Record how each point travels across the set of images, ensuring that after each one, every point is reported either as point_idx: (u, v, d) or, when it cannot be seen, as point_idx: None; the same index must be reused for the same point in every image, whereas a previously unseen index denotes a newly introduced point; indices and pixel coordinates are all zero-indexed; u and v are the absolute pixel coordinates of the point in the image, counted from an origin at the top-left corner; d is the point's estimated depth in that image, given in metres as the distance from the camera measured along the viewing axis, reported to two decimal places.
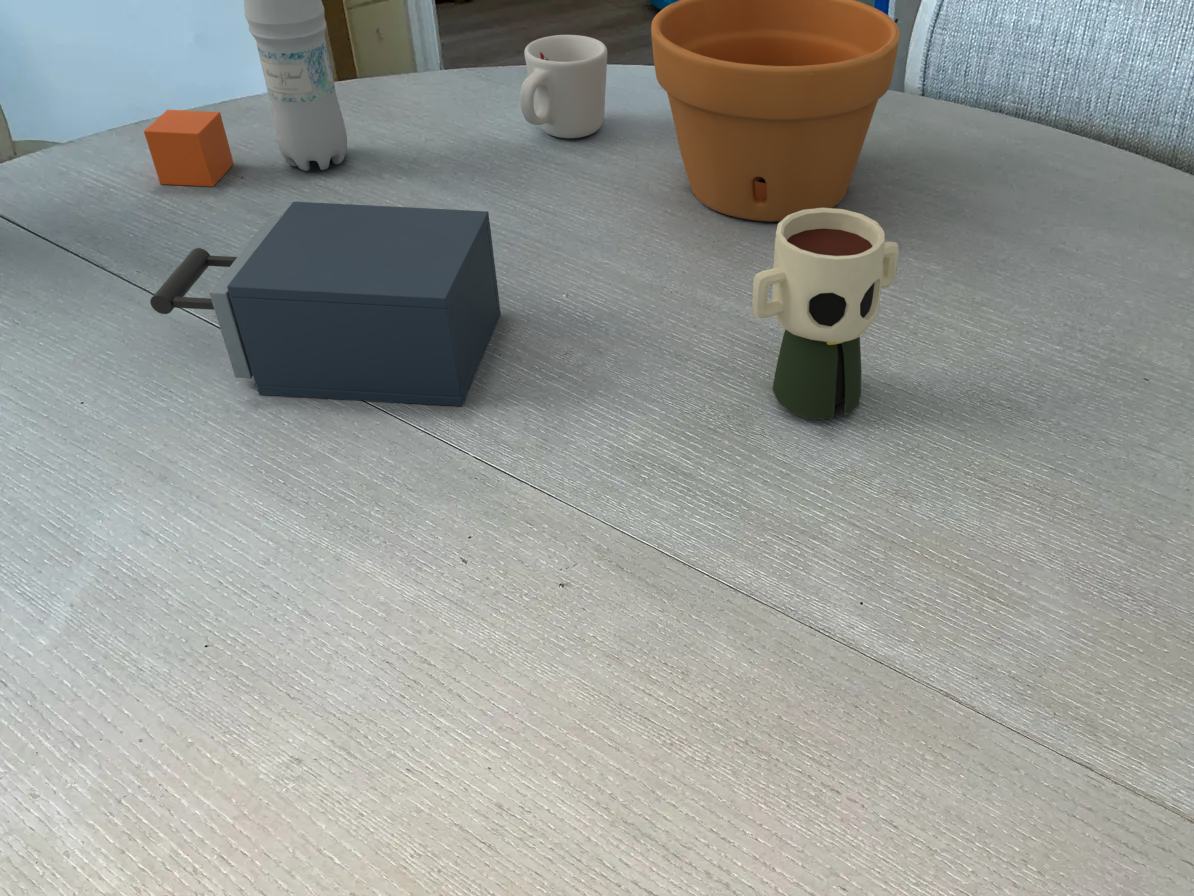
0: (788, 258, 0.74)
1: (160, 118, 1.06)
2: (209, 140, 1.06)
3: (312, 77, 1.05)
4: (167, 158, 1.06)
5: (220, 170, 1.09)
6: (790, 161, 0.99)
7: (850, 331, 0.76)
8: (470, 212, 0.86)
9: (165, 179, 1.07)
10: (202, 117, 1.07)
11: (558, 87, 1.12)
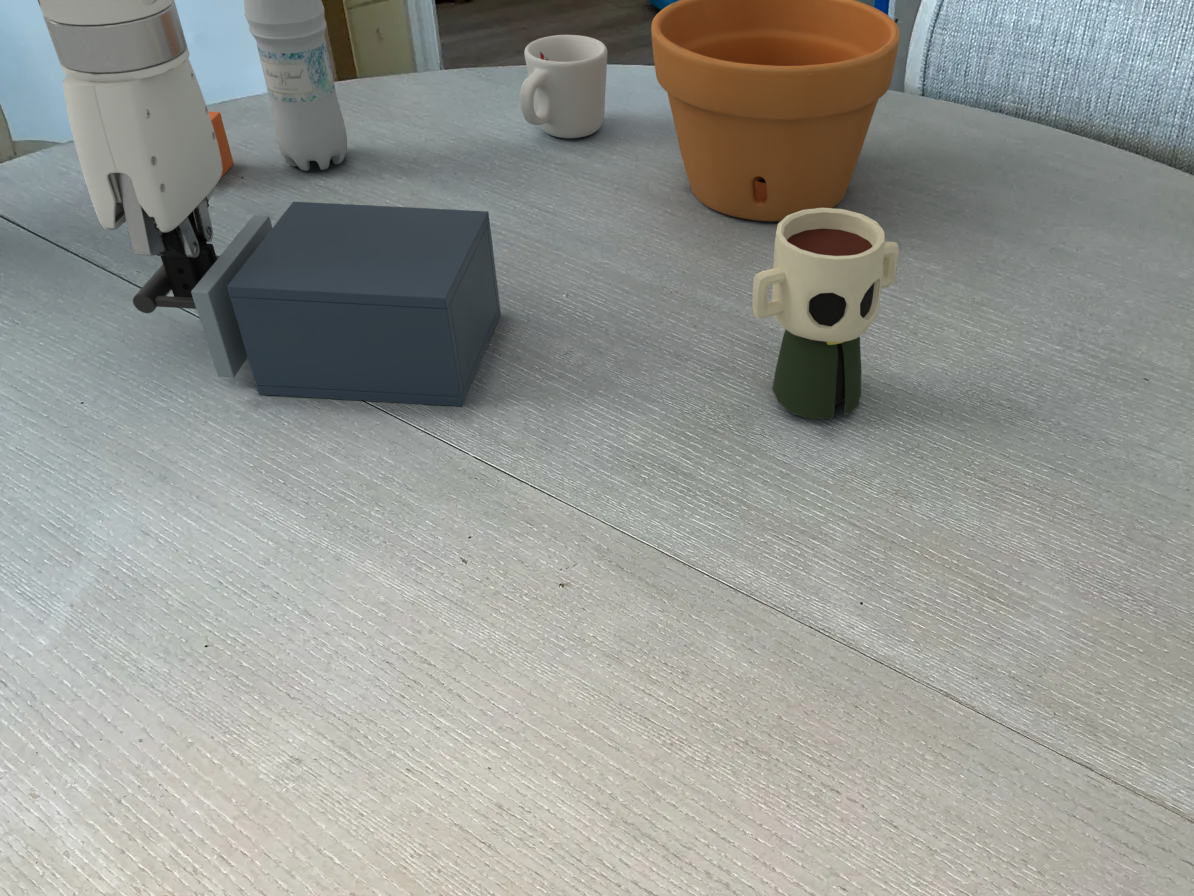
0: (788, 258, 0.74)
1: None
2: None
3: (312, 77, 1.05)
4: None
5: None
6: (790, 161, 0.99)
7: (850, 331, 0.76)
8: (470, 212, 0.86)
9: None
10: None
11: (558, 87, 1.12)
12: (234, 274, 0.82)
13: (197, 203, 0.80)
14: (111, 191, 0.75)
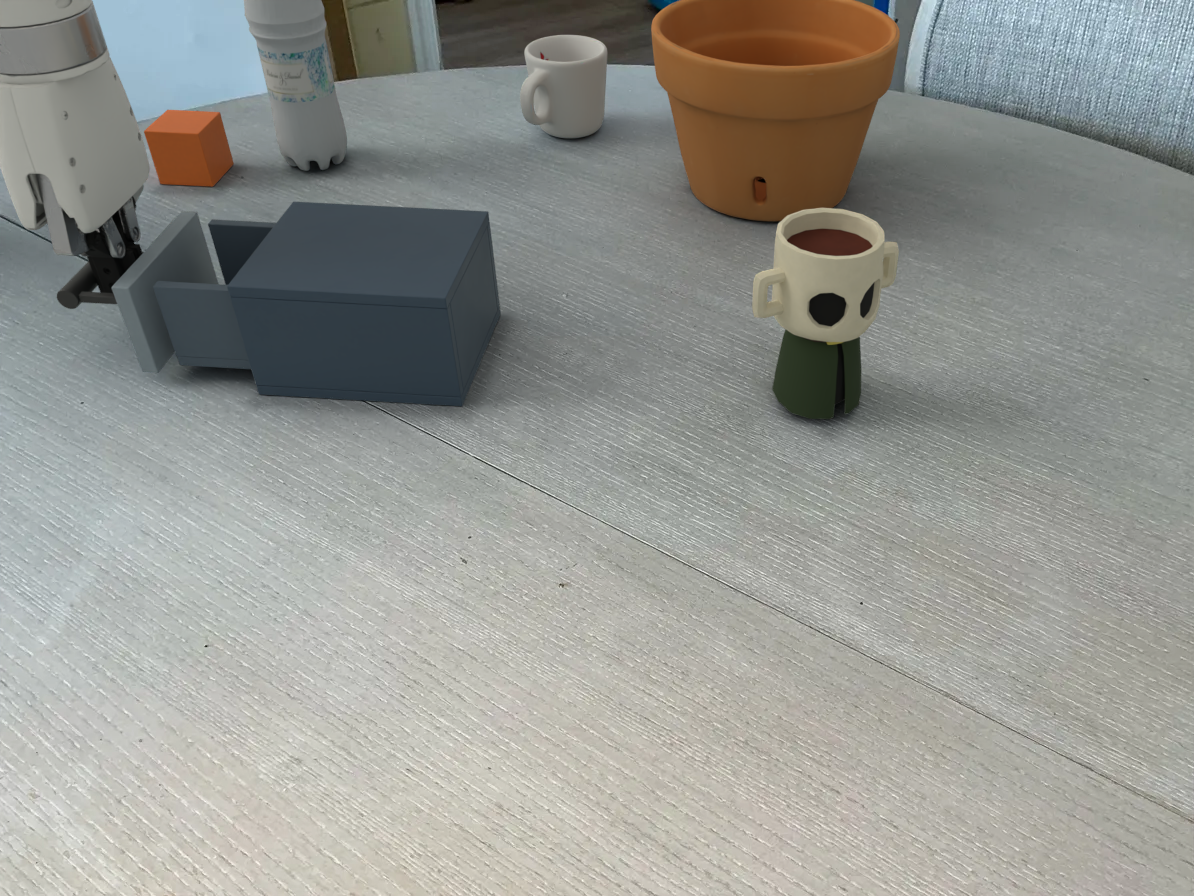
0: (788, 258, 0.74)
1: (160, 118, 1.06)
2: (209, 140, 1.06)
3: (312, 77, 1.05)
4: (167, 158, 1.06)
5: (220, 170, 1.09)
6: (790, 161, 0.99)
7: (850, 331, 0.76)
8: (470, 212, 0.86)
9: (165, 179, 1.07)
10: (202, 117, 1.07)
11: (558, 87, 1.12)
12: (158, 270, 0.82)
13: (121, 204, 0.80)
14: (31, 192, 0.75)
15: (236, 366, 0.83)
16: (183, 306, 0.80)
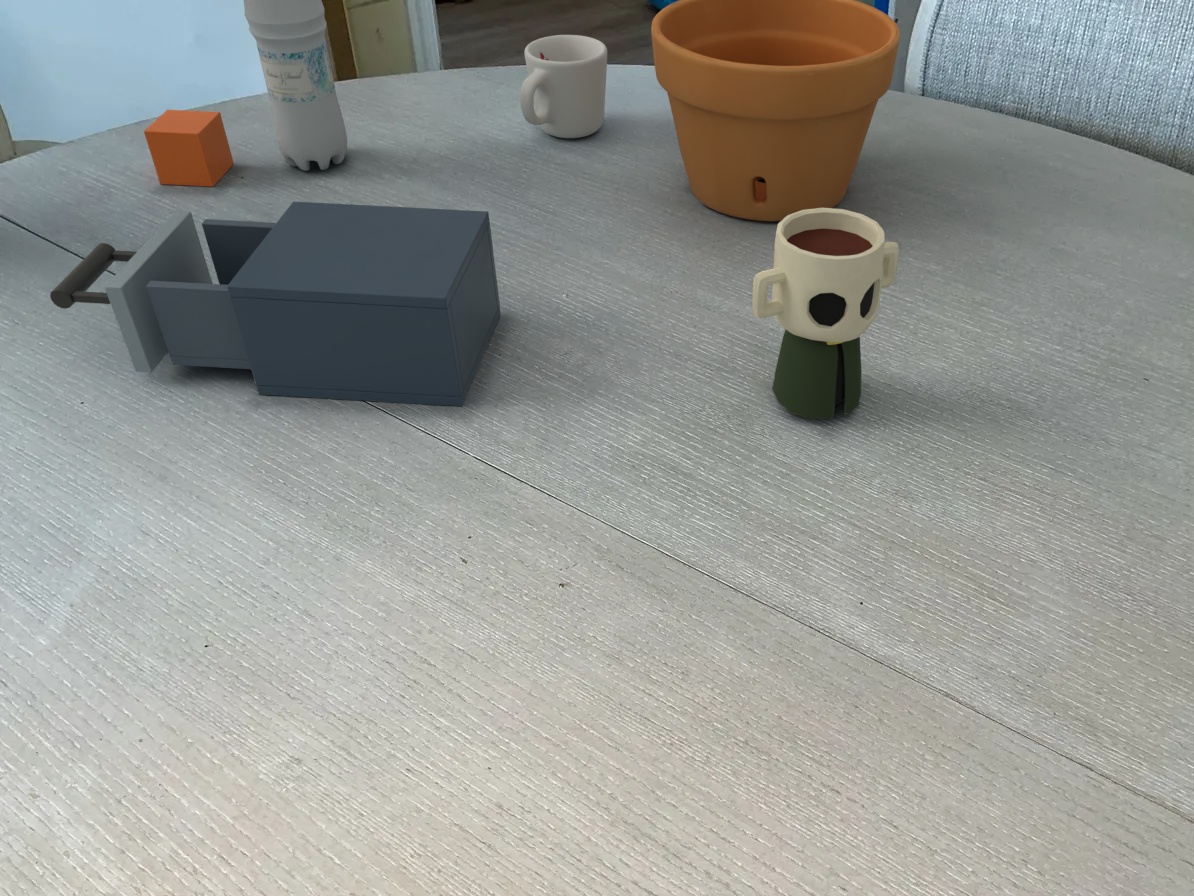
0: (788, 258, 0.74)
1: (160, 118, 1.06)
2: (209, 140, 1.06)
3: (312, 77, 1.05)
4: (167, 158, 1.06)
5: (220, 170, 1.09)
6: (790, 161, 0.99)
7: (850, 331, 0.76)
8: (470, 212, 0.86)
9: (165, 179, 1.07)
10: (202, 117, 1.07)
11: (558, 87, 1.12)
12: (151, 270, 0.82)
13: None
14: None
15: (229, 366, 0.83)
16: (176, 306, 0.80)
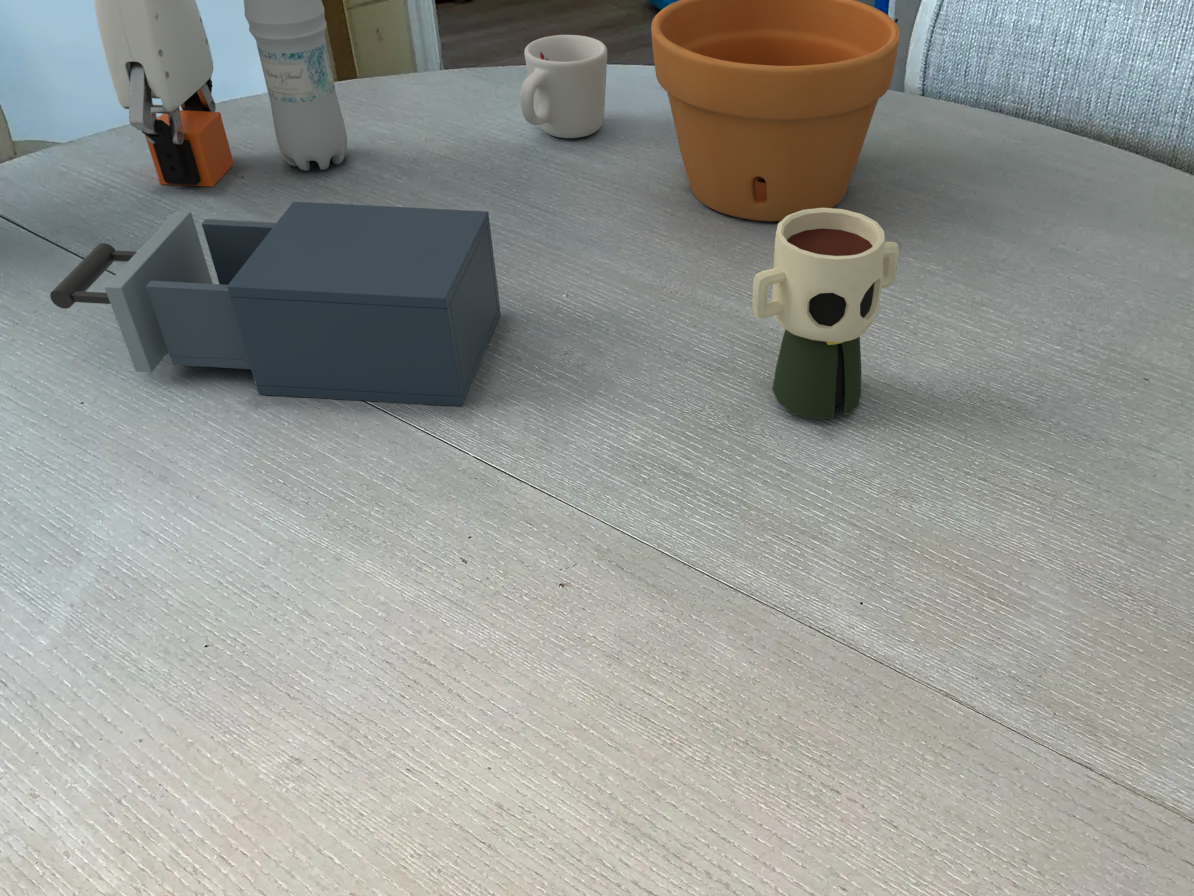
0: (788, 258, 0.74)
1: (160, 118, 1.06)
2: (209, 140, 1.06)
3: (312, 77, 1.05)
4: None
5: (220, 170, 1.09)
6: (790, 161, 0.99)
7: (850, 331, 0.76)
8: (470, 212, 0.86)
9: None
10: (202, 117, 1.07)
11: (558, 87, 1.12)
12: (151, 270, 0.82)
13: (193, 91, 1.04)
14: (128, 76, 0.99)
15: (229, 366, 0.83)
16: (176, 306, 0.80)
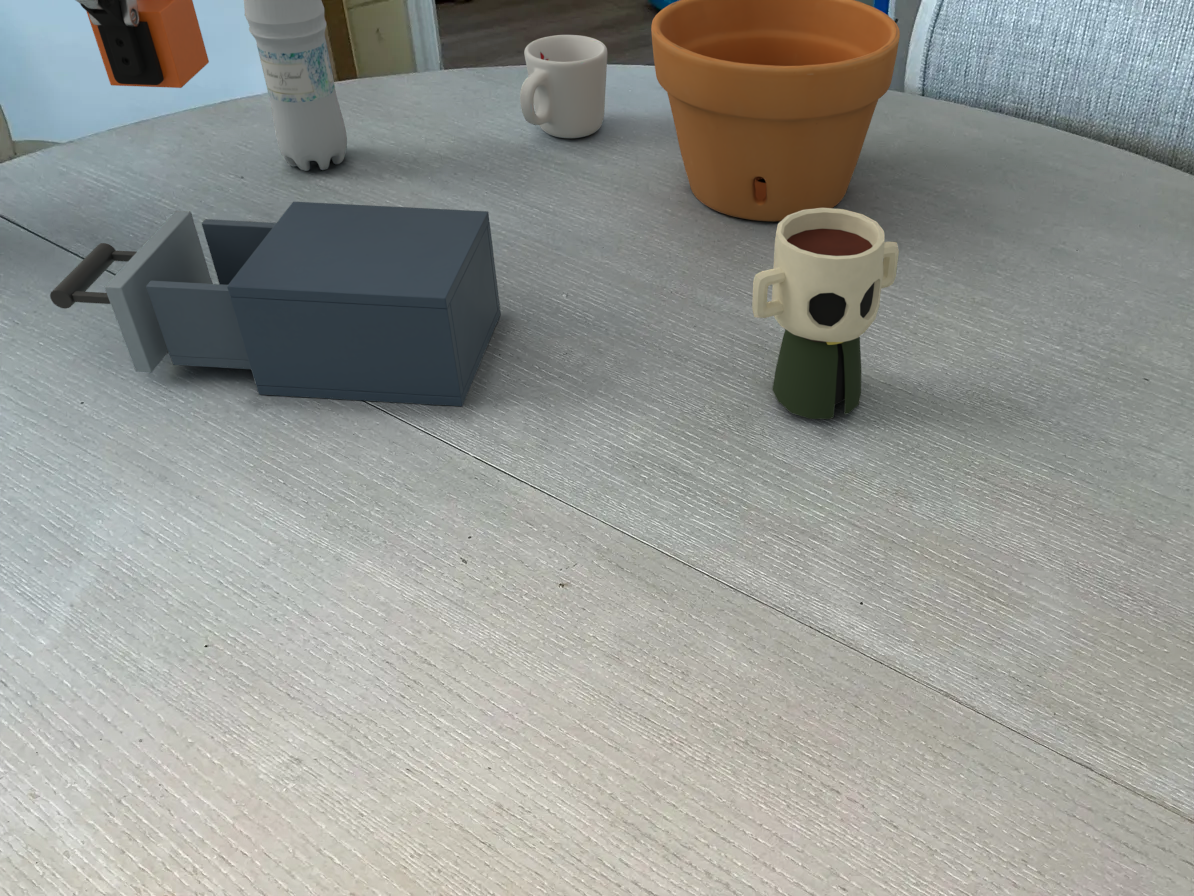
0: (788, 258, 0.74)
1: None
2: (175, 24, 0.79)
3: (312, 77, 1.05)
4: None
5: (191, 67, 0.82)
6: (790, 161, 0.99)
7: (850, 331, 0.76)
8: (470, 212, 0.86)
9: None
10: None
11: (558, 87, 1.12)
12: (151, 270, 0.82)
13: None
14: None
15: (229, 366, 0.83)
16: (176, 306, 0.80)
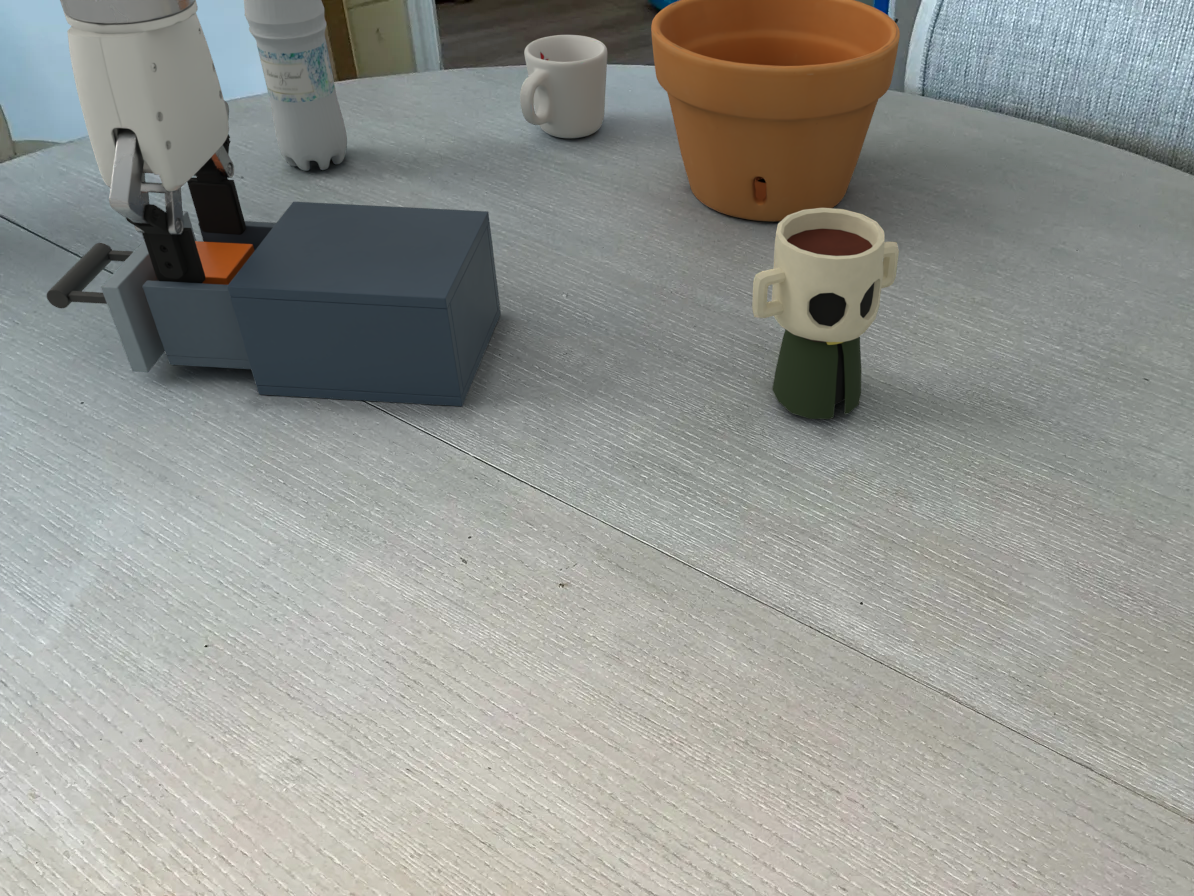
0: (788, 258, 0.74)
1: None
2: None
3: (312, 77, 1.05)
4: None
5: None
6: (790, 161, 0.99)
7: (850, 331, 0.76)
8: (470, 212, 0.86)
9: None
10: (230, 252, 0.84)
11: (558, 87, 1.12)
12: (147, 269, 0.82)
13: (203, 163, 0.78)
14: (115, 147, 0.73)
15: (226, 365, 0.83)
16: (173, 306, 0.80)
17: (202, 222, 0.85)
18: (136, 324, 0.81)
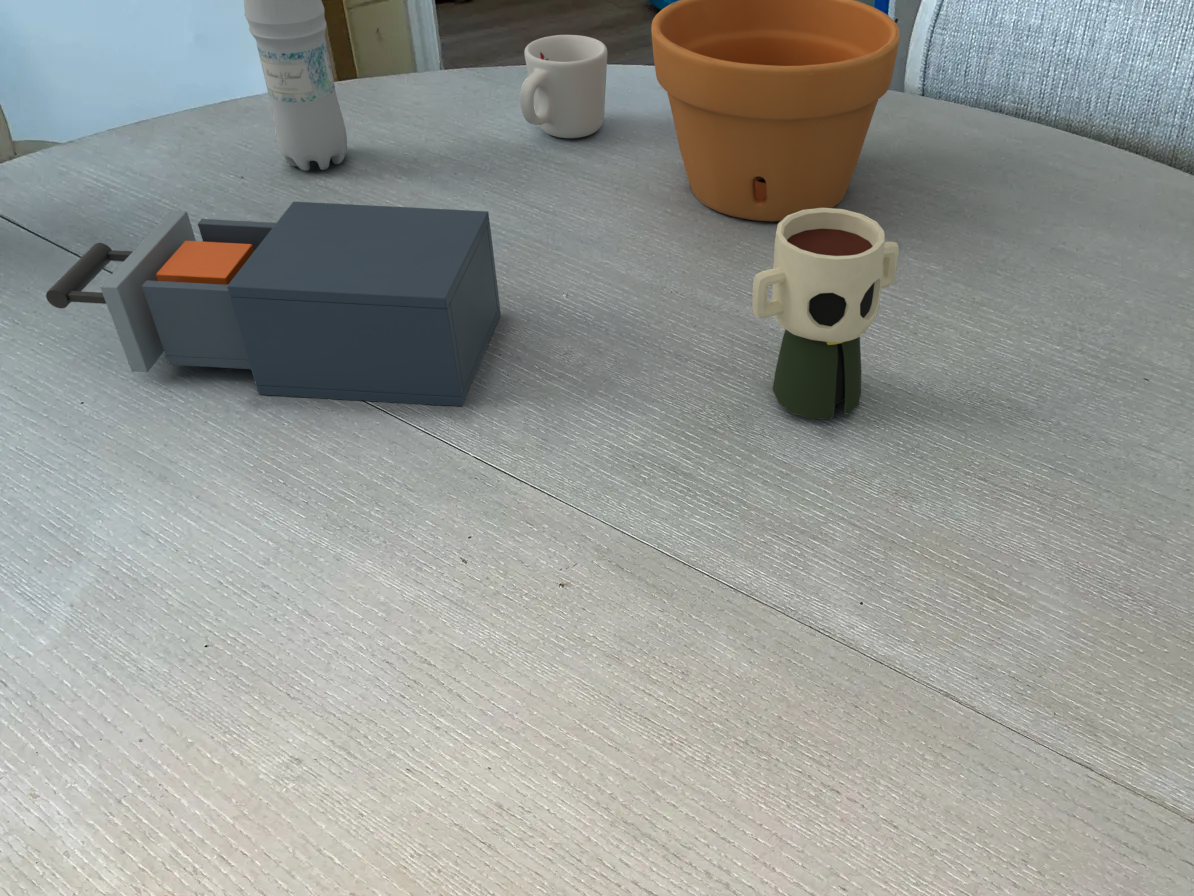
0: (788, 258, 0.74)
1: (177, 254, 0.84)
2: None
3: (312, 77, 1.05)
4: None
5: None
6: (790, 161, 0.99)
7: (850, 331, 0.76)
8: (470, 212, 0.86)
9: None
10: (230, 252, 0.84)
11: (558, 87, 1.12)
12: (147, 269, 0.82)
13: None
14: None
15: (225, 365, 0.83)
16: (172, 306, 0.80)
17: None
18: (135, 324, 0.81)
